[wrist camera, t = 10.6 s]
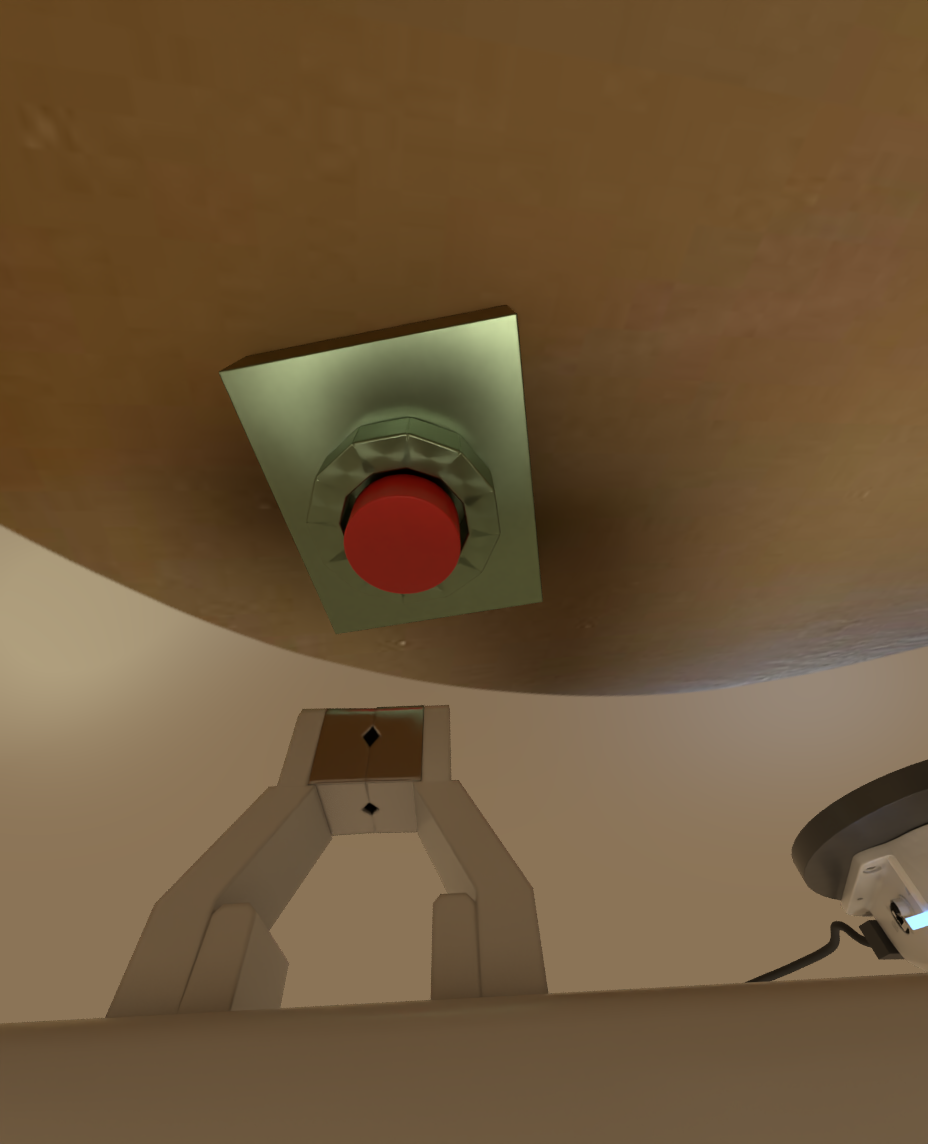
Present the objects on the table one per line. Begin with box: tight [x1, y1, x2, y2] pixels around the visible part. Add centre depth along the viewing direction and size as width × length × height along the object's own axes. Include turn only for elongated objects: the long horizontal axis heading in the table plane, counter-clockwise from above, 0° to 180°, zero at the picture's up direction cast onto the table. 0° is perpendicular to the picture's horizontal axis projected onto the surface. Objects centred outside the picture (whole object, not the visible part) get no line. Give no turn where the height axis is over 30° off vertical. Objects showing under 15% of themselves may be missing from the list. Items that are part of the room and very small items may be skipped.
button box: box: [219, 305, 543, 634], centre depth 19 cm, size 12×10×4 cm
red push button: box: [344, 474, 461, 594], centre depth 17 cm, size 4×4×2 cm
